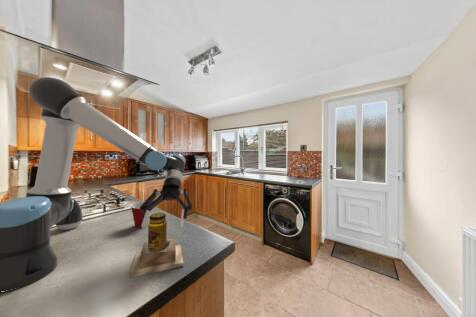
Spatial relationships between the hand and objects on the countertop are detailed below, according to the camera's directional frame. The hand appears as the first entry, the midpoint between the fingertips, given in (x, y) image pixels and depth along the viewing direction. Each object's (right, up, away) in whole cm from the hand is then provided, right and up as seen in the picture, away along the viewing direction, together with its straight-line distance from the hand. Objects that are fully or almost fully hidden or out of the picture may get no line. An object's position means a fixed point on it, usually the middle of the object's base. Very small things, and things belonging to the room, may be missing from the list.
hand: (162, 227), depth 64 cm
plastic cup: (-24, -11, +29) cm, 39 cm away
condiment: (-1, -6, -2) cm, 7 cm away
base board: (0, -11, -2) cm, 11 cm away
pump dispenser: (-59, -10, +24) cm, 64 cm away
